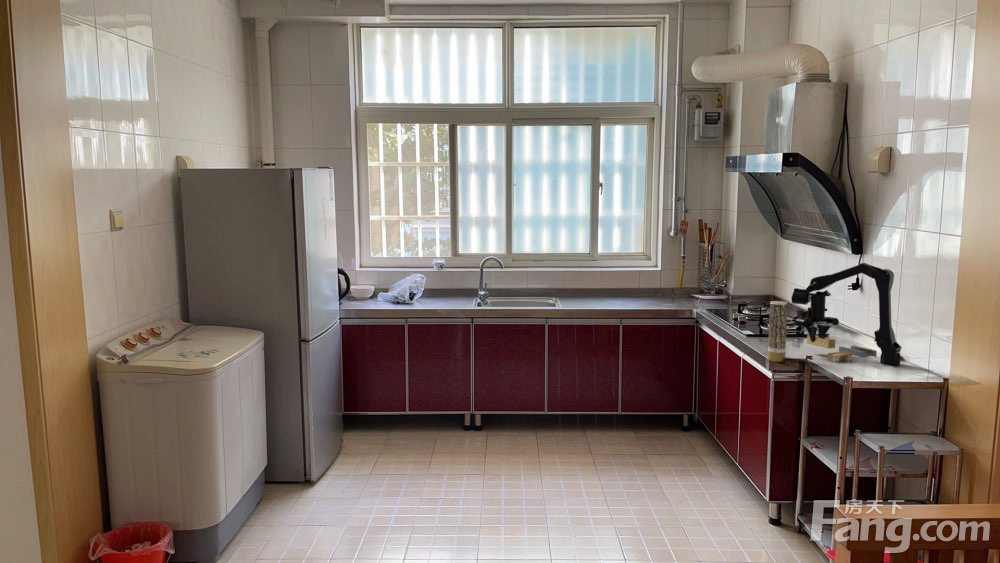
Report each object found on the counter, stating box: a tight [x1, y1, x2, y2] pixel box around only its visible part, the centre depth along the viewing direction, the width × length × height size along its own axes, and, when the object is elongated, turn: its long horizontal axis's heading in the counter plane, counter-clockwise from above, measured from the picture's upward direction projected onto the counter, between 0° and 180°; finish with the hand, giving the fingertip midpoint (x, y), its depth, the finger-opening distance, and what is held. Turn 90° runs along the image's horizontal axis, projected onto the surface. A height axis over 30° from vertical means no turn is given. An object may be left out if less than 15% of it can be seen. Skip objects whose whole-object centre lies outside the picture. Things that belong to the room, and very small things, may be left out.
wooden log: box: [767, 300, 788, 363], centre depth 293 cm, size 7×7×25 cm
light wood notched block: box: [826, 351, 853, 364], centre depth 287 cm, size 4×9×5 cm, turn 109°
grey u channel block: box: [838, 345, 878, 358], centre depth 302 cm, size 12×8×4 cm
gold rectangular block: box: [806, 334, 836, 350], centre depth 296 cm, size 12×4×4 cm, turn 19°
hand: (816, 341), depth 299 cm, fingers closed on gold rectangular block, 4 cm apart
